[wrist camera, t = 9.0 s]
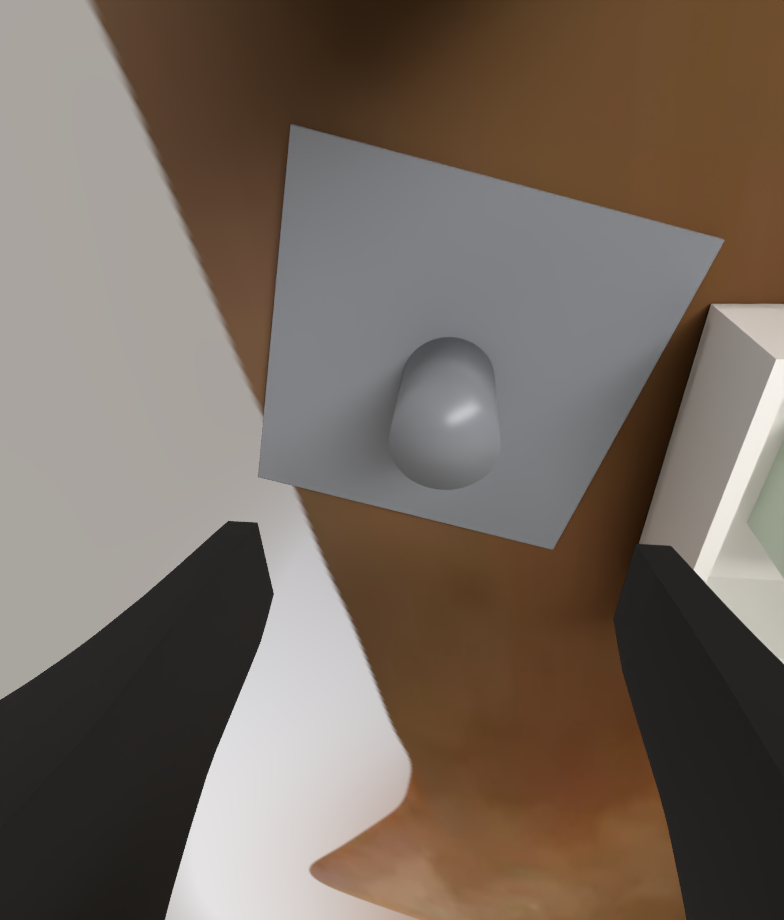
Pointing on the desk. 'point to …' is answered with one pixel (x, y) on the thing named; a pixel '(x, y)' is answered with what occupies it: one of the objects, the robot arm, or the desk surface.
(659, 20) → the desk surface
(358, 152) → the gray lid
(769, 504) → the sage block
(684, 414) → the white open box
